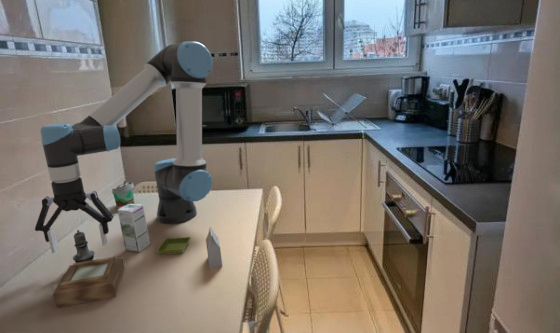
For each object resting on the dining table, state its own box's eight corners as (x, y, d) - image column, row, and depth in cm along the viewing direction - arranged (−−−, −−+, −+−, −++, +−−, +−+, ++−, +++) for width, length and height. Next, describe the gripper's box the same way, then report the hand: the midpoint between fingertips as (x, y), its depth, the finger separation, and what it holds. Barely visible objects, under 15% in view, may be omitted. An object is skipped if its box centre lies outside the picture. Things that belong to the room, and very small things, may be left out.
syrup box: (150, 244, 120) (144, 203, 116) (138, 252, 115) (131, 210, 111) (137, 242, 122) (129, 202, 118) (124, 250, 117) (116, 209, 113)
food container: (130, 211, 151) (126, 188, 148) (115, 211, 151) (111, 189, 148) (141, 200, 163) (138, 179, 160) (128, 201, 163) (124, 180, 160)
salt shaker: (87, 271, 105) (79, 234, 102) (70, 270, 107) (61, 233, 103) (101, 261, 111) (93, 225, 108) (84, 260, 112) (76, 225, 109)
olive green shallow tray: (157, 256, 112) (156, 250, 112) (166, 243, 121) (165, 238, 120) (184, 255, 112) (183, 249, 111) (191, 242, 120) (191, 236, 120)
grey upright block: (220, 255, 110) (216, 225, 108) (222, 266, 104) (218, 235, 101) (208, 257, 109) (204, 227, 107) (209, 268, 103) (205, 237, 100)
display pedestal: (124, 268, 106) (121, 253, 104) (115, 296, 93) (112, 279, 91) (73, 277, 103) (69, 261, 101) (56, 307, 89) (51, 289, 88)
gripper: (116, 170, 108) (126, 235, 113) (22, 180, 102) (38, 247, 107) (110, 177, 100) (122, 246, 106) (9, 188, 95) (27, 260, 100)
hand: (80, 247), depth 107 cm, fingers open, 13 cm apart
